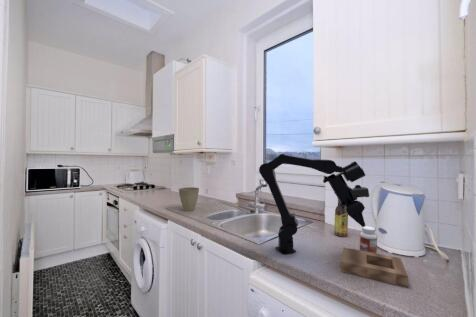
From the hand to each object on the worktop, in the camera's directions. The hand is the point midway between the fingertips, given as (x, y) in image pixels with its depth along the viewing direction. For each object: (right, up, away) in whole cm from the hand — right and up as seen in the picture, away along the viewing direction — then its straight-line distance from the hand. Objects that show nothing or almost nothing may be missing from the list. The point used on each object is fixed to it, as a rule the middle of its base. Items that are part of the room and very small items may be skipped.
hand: (360, 222), depth 87 cm
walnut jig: (-1, -15, -8) cm, 16 cm away
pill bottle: (+6, -15, +5) cm, 17 cm away
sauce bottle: (+5, -14, +27) cm, 31 cm away
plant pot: (-85, -13, +77) cm, 116 cm away
